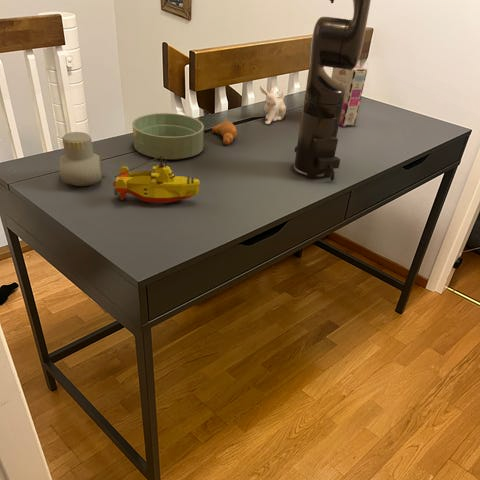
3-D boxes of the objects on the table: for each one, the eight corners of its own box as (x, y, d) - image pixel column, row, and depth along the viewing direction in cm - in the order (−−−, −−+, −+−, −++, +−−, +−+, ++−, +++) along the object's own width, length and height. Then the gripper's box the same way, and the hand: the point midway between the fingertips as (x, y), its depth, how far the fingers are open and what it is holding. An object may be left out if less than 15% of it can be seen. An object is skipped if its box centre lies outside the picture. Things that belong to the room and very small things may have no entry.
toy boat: (117, 192, 104) (112, 147, 97) (199, 195, 105) (200, 151, 99) (113, 206, 99) (107, 159, 92) (199, 209, 100) (200, 163, 94)
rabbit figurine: (267, 124, 145) (271, 91, 139) (249, 118, 149) (252, 85, 142) (290, 117, 152) (295, 85, 146) (272, 111, 156) (276, 79, 150)
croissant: (228, 131, 138) (228, 115, 135) (241, 145, 131) (242, 129, 128) (211, 132, 137) (211, 116, 134) (224, 146, 129) (224, 130, 126)
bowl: (212, 158, 122) (213, 135, 118) (141, 164, 116) (140, 139, 112) (192, 133, 134) (192, 111, 131) (127, 137, 129) (125, 114, 125)
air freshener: (101, 191, 103) (96, 146, 97) (62, 192, 102) (53, 146, 95) (102, 170, 111) (97, 127, 105) (65, 171, 110) (57, 127, 103)
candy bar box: (355, 126, 150) (368, 69, 140) (342, 127, 149) (354, 70, 138) (336, 114, 158) (346, 60, 147) (323, 115, 156) (333, 60, 145)
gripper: (330, -59, 127) (320, 6, 141) (383, -51, 125) (367, 14, 139) (335, -70, 131) (325, -6, 145) (387, -63, 129) (371, 2, 143)
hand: (346, 4), depth 142 cm, fingers open, 8 cm apart
